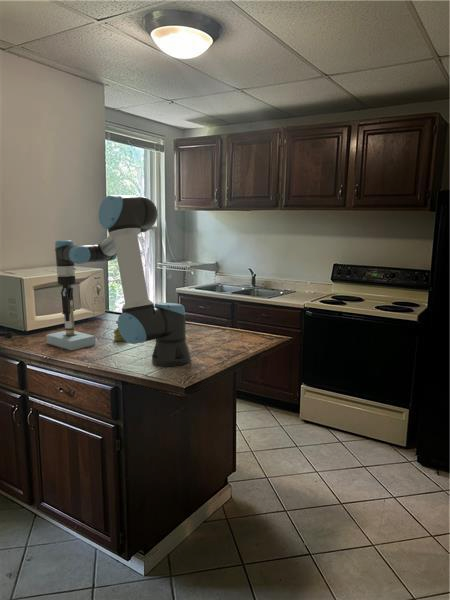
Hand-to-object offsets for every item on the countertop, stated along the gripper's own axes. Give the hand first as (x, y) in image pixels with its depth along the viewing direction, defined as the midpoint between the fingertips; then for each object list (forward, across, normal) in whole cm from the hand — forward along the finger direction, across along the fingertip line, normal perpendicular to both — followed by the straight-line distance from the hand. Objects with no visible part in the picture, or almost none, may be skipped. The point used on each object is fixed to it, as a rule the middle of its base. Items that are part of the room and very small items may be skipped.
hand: (69, 326), depth 201 cm
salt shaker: (+8, +3, -23) cm, 24 cm away
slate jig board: (+8, 0, 0) cm, 8 cm away
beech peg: (+4, 0, 0) cm, 4 cm away
